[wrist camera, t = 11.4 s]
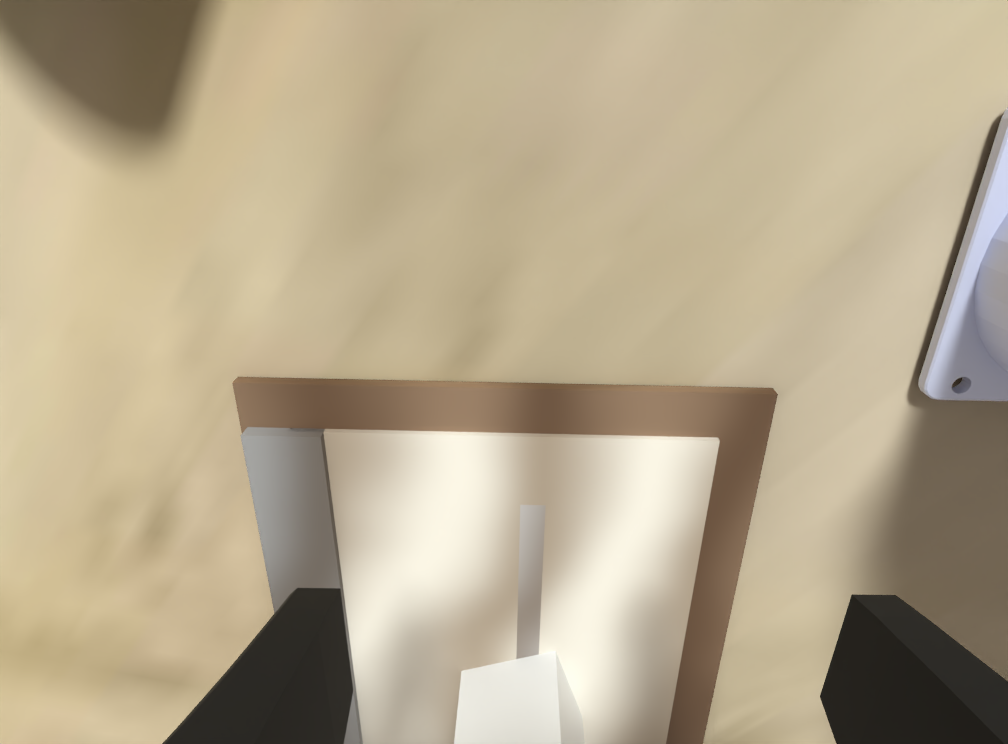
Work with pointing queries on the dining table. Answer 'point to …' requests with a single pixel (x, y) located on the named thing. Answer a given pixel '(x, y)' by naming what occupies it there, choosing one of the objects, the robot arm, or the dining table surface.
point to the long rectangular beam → (518, 704)
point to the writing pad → (512, 537)
